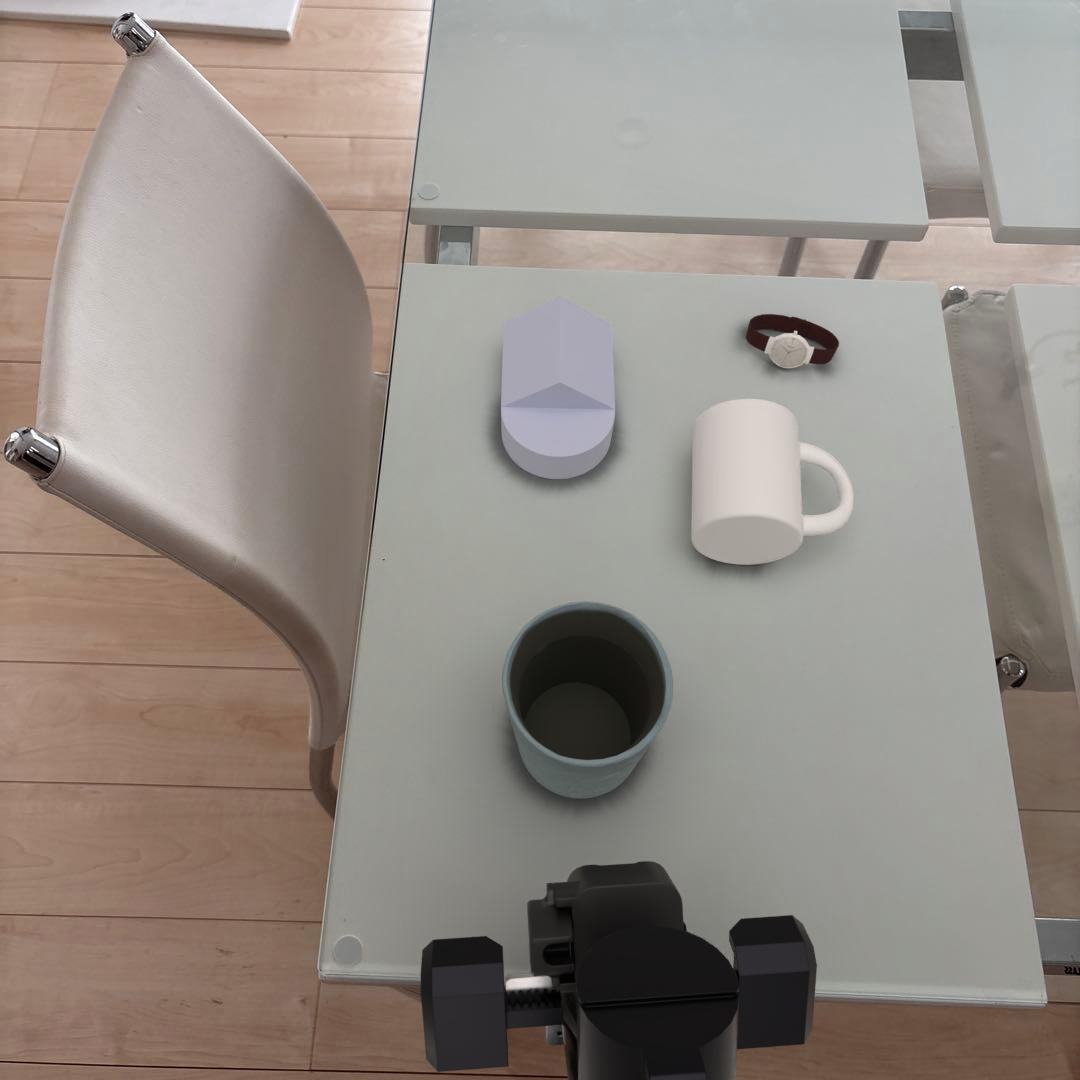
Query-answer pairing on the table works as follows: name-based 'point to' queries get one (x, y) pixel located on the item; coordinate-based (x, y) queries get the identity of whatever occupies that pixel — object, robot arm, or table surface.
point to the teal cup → (585, 696)
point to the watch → (791, 340)
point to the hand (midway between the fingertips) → (596, 882)
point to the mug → (756, 484)
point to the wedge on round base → (557, 389)
